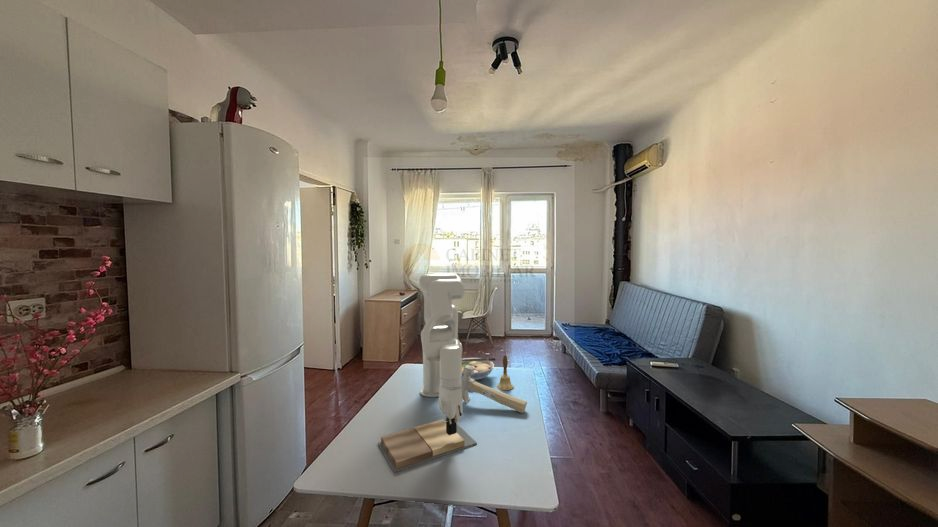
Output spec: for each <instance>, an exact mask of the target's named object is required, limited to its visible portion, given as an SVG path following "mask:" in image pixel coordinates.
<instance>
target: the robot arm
mask: <svg viewBox="0 0 938 527" xmlns="http://www.w3.org/2000/svg"><path fill="white" fill-rule="evenodd" d="M418 284H419V287H420V290H421V292H422V295H423V301H424V302H423V305H424V306H423V312H424V313H423V319H424V323H425V324H424V326H423V329H422V330H421V331H420V340H421V346H422V347H421V348H422V371H423V372H422V375H423V376H422V382H423V384H422V385H423V386H422V387H421V388H420V391H419V393H420V395H421V396H423V397H425V398H426V397H427V398H437V397H438V410H439V411H440V412H441V413H442V414H443V415H444V417H445V422H446V433H447V434H448V435H452V434H455V433H456V432H457V425H458V423H460V422H461V417H463V414H464V413H463V411H464V410H463V409H464V406H463V402H464V400H463V399H462V391H461V386H462V359H463V358H462V356H463V355H462V354H463V345H462V343H461V341H460V340H459V338H458V337H459V335H458V334H459V332H458V331H459V310H458V308H457V306H456V305H454V304H453V301H452V300H461V299H464V296H465V294H466V293H465V292H466V291H465V285H464V284H465V283H464V282H463V280H462V279H461V277H460V275H458V274H456V273H426V274H422V275H421V276H419V279H418Z"/></svg>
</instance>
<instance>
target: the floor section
mask: <svg viewBox="0 0 938 527" xmlns="http://www.w3.org/2000/svg"><path fill="white" fill-rule="evenodd" d="M457 433H458V434H459V435H460V436H461V437H462V438H463V439H464V446H462V447H459V448H456V449H453V450H450V451H447V452H444V453H441V454H438V455H435V456H432V450H431V449H430V448H429V447H428V445H427V444H426V443H425V442H424V440H423V439H422V438H421V437H420V436H419V434H418V433H417V432H416V431H415V429H414V427H411V428H408V429H403V430H400V431H397V432H394V433H389V434H386V435H383V436H381V437H380V439H381V440H380V441H378V442H377V445H378V444H379V445H378V446H380V447H379V448H380V450H381V452H382V451H383V452H382V454H383V453H384V454H383V456H384V457H385V459H386V461H387V462H388V464H389V466H390V468H391V469H392V471H393V473H397V472H400V471H402V470H406V469H409V468H411V467H414V466H417V465H420V464H423V463H426V462H429V461H433V460H435V459H438V458H440V457H444V456H446V455H450V454H452V453H456V452H458V451H461V450H462V451H463V450H465V449H466V448H467V449H468V448H470V447H473V446H476V445H477V444H478V442H477V441H476V440H474V438H473V437H472V436H470V435H469V434H468V433H467V432H466V431H465V430H464V429H463V428H462V427H461V426H459V424H457Z"/></svg>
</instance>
